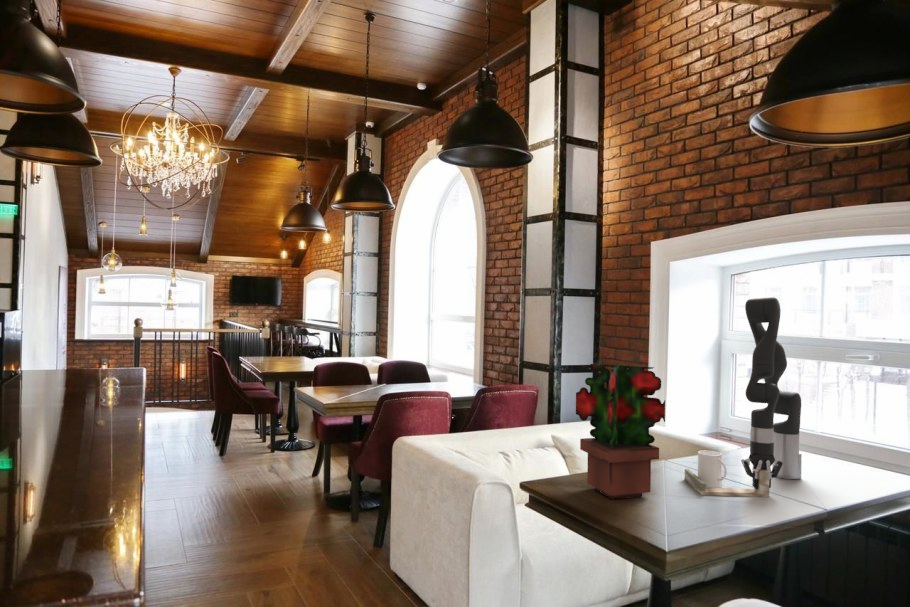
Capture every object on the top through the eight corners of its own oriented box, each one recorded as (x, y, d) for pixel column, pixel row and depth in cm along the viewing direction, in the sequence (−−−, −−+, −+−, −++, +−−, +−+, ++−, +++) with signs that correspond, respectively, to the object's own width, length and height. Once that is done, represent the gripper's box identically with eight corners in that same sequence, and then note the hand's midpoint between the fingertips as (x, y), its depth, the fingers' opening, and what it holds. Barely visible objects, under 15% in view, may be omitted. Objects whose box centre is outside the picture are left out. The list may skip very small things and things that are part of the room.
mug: (733, 490, 223) (734, 456, 223) (714, 492, 220) (714, 458, 220) (710, 481, 234) (710, 449, 234) (692, 483, 231) (692, 450, 231)
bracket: (746, 481, 233) (747, 457, 233) (769, 496, 214) (769, 470, 214) (684, 479, 235) (684, 455, 235) (701, 494, 216) (701, 469, 216)
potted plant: (664, 500, 211) (665, 368, 211) (606, 505, 204) (607, 369, 204) (628, 482, 232) (629, 362, 232) (575, 486, 226) (576, 363, 226)
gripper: (777, 438, 220) (777, 486, 220) (737, 437, 221) (736, 485, 221) (787, 442, 213) (787, 492, 213) (745, 441, 214) (745, 491, 214)
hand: (761, 488), depth 217 cm, fingers closed on bracket, 3 cm apart
